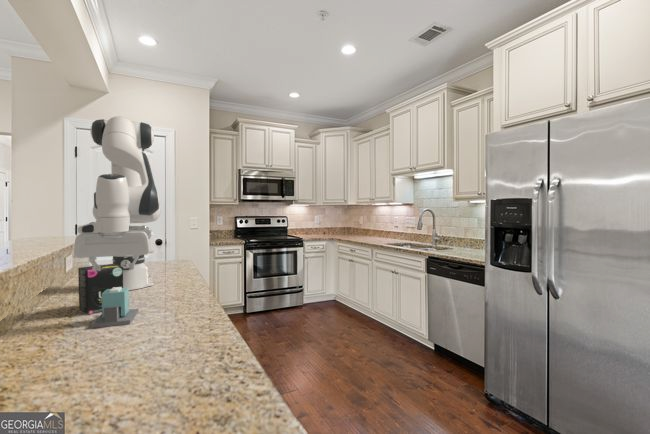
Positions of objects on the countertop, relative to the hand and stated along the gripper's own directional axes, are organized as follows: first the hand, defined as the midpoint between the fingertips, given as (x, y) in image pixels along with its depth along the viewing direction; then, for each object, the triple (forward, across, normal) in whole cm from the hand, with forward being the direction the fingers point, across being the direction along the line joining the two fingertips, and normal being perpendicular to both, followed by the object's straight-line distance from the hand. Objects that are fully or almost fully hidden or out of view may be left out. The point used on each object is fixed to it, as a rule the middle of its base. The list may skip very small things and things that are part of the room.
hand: (114, 270), depth 104 cm
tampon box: (+16, +8, -14) cm, 23 cm away
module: (+14, 0, +1) cm, 14 cm away
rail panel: (+15, 0, +1) cm, 16 cm away
